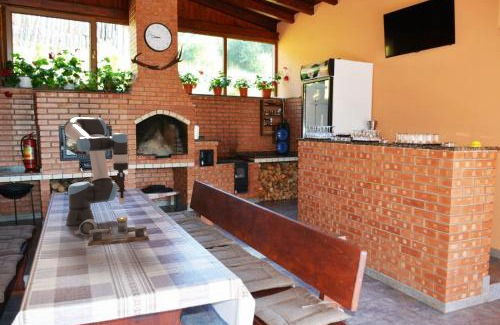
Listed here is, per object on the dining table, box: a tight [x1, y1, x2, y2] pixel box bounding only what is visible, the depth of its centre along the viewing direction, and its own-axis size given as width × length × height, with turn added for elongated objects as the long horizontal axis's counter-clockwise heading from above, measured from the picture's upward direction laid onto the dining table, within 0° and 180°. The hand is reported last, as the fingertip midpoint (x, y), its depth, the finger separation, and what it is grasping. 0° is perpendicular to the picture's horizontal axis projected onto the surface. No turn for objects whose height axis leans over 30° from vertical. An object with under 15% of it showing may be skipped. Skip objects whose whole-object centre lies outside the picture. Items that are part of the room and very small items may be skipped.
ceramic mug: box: [74, 219, 98, 237], centre depth 205 cm, size 11×8×8 cm
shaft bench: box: [87, 224, 150, 246], centre depth 195 cm, size 28×11×7 cm, turn 110°
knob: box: [116, 216, 128, 233], centre depth 211 cm, size 5×5×7 cm
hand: (121, 201), depth 210 cm, fingers open, 13 cm apart
